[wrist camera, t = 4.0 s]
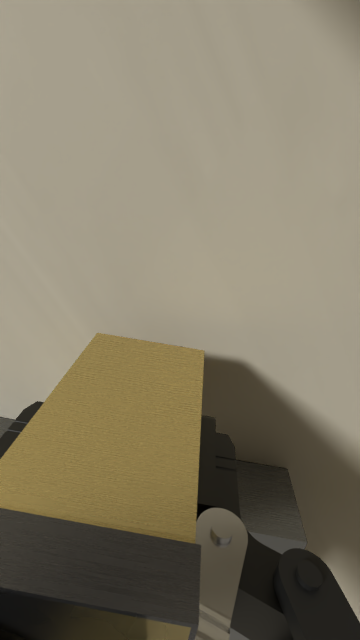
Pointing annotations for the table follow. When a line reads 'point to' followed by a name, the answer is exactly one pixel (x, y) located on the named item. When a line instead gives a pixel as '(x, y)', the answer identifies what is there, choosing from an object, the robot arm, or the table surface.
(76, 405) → the tan banded block
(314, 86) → the table surface
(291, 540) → the cinder block
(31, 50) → the table surface
